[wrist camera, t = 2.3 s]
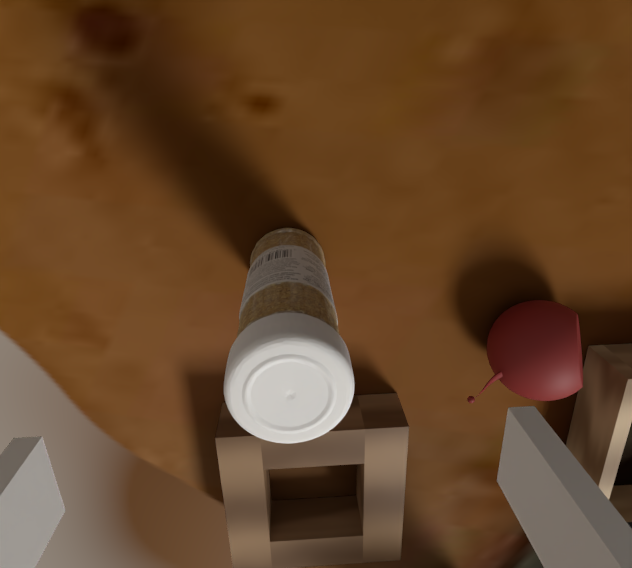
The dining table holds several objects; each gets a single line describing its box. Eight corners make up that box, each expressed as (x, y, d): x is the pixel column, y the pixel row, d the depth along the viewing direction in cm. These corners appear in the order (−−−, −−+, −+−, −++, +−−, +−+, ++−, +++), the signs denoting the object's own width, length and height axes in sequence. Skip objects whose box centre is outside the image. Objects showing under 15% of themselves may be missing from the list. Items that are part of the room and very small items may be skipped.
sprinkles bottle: (259, 301, 29) (238, 459, 17) (242, 232, 27) (205, 351, 15) (331, 288, 29) (365, 436, 17) (319, 218, 27) (346, 325, 15)
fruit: (479, 286, 32) (456, 357, 26) (575, 280, 29) (574, 358, 23) (493, 359, 34) (475, 439, 28) (583, 360, 31) (585, 451, 25)
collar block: (222, 402, 32) (214, 438, 29) (396, 392, 32) (408, 426, 29) (238, 529, 36) (233, 572, 33) (390, 519, 37) (400, 560, 34)
